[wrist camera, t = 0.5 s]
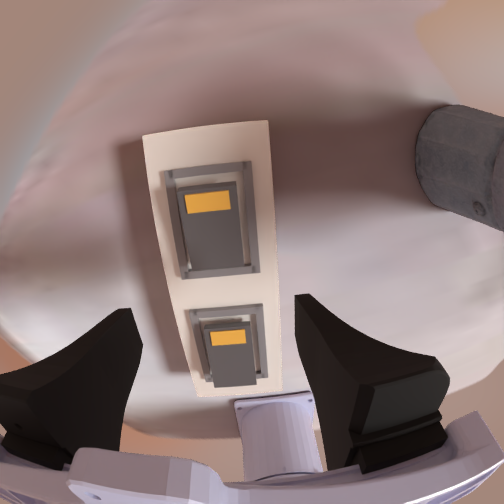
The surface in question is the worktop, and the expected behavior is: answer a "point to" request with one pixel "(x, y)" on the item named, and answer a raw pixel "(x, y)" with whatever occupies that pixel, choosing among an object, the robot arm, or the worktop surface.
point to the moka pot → (463, 163)
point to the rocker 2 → (231, 354)
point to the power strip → (253, 240)
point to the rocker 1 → (211, 225)
